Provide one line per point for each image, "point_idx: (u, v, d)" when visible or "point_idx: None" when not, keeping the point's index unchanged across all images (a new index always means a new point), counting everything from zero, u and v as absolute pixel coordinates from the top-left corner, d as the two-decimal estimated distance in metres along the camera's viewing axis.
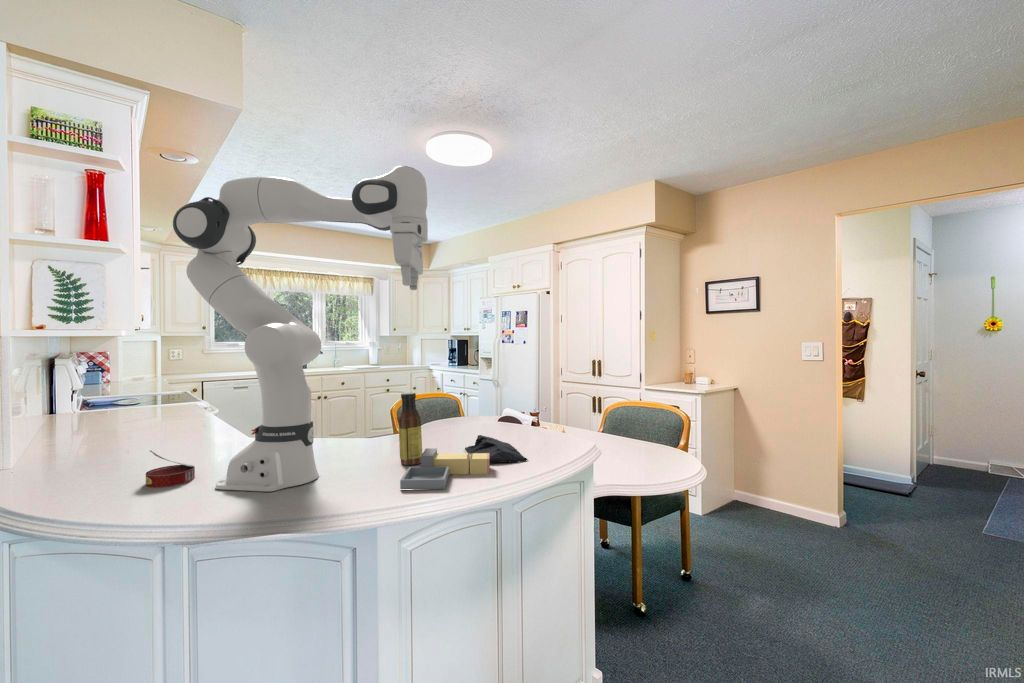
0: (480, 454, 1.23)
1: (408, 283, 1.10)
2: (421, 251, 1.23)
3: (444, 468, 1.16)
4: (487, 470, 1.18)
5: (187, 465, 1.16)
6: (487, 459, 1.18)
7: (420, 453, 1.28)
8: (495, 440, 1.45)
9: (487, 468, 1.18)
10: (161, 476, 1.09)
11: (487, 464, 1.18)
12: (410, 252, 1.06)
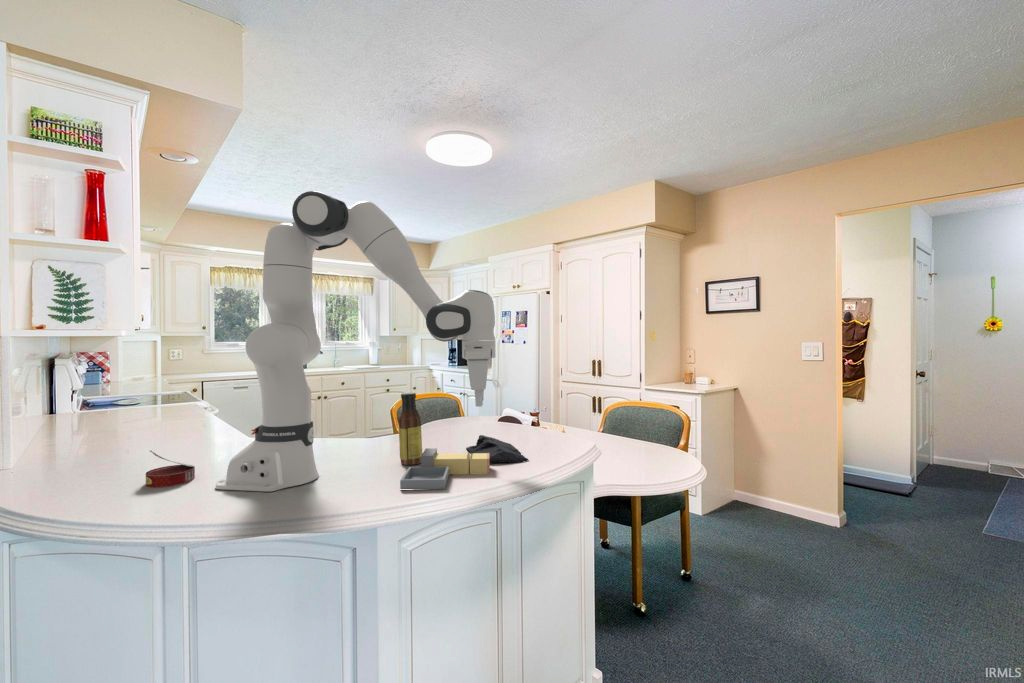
0: (480, 454, 1.23)
1: (481, 405, 1.16)
2: None
3: (444, 468, 1.16)
4: (487, 470, 1.18)
5: (187, 465, 1.16)
6: (487, 459, 1.18)
7: (420, 453, 1.28)
8: (496, 440, 1.45)
9: (487, 468, 1.18)
10: (161, 476, 1.09)
11: (487, 464, 1.18)
12: (485, 380, 1.11)
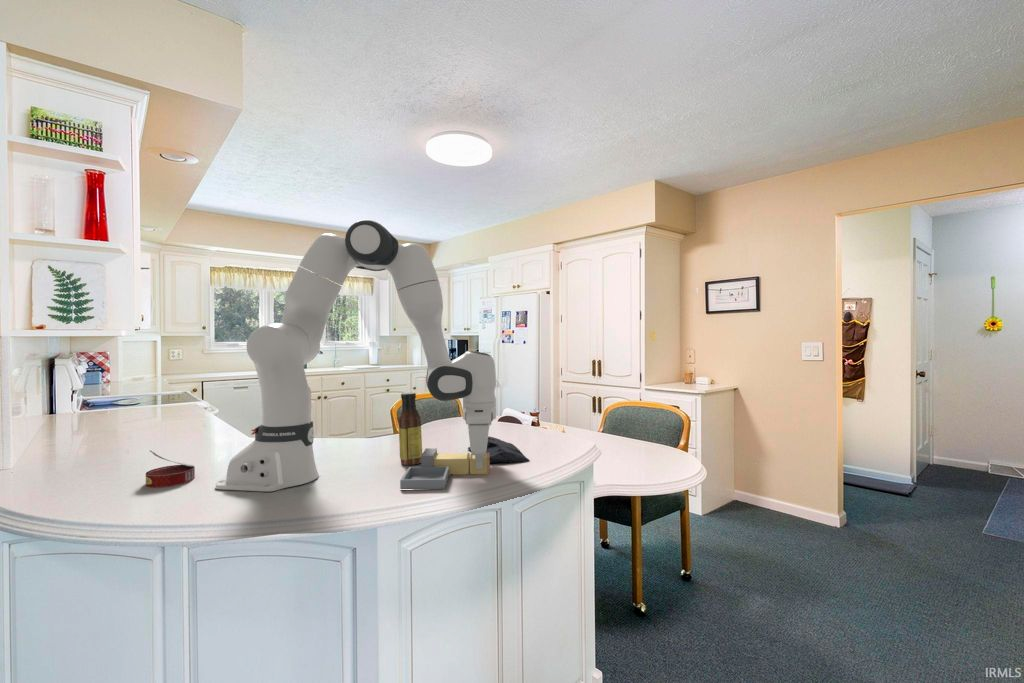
0: None
1: (481, 467, 1.17)
2: None
3: (444, 468, 1.16)
4: (487, 470, 1.18)
5: (187, 465, 1.16)
6: (487, 459, 1.18)
7: (420, 453, 1.28)
8: (498, 440, 1.45)
9: (487, 468, 1.18)
10: (161, 476, 1.09)
11: (487, 464, 1.18)
12: (486, 446, 1.11)
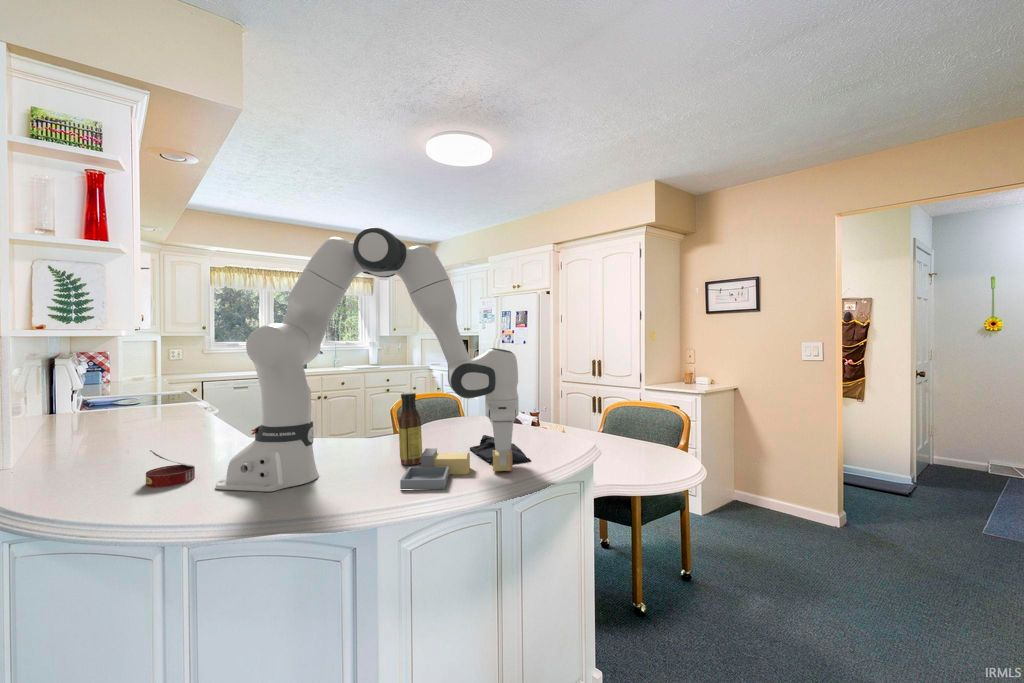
0: None
1: (505, 464, 1.17)
2: None
3: (444, 468, 1.16)
4: (510, 466, 1.19)
5: (187, 465, 1.16)
6: (510, 455, 1.19)
7: (420, 453, 1.28)
8: None
9: (510, 464, 1.19)
10: (161, 475, 1.09)
11: (510, 460, 1.19)
12: (510, 442, 1.12)
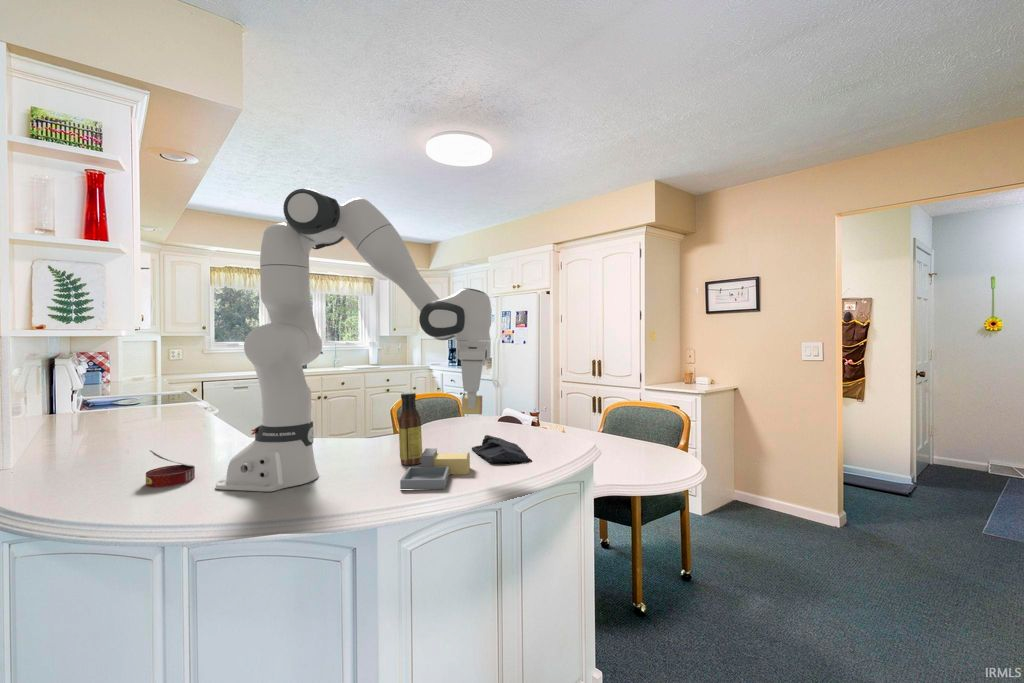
0: None
1: (473, 406, 1.13)
2: None
3: (444, 468, 1.16)
4: (479, 410, 1.15)
5: (187, 465, 1.16)
6: (480, 399, 1.15)
7: (420, 453, 1.28)
8: (502, 440, 1.45)
9: (480, 408, 1.15)
10: (162, 475, 1.09)
11: (480, 404, 1.15)
12: (479, 382, 1.08)
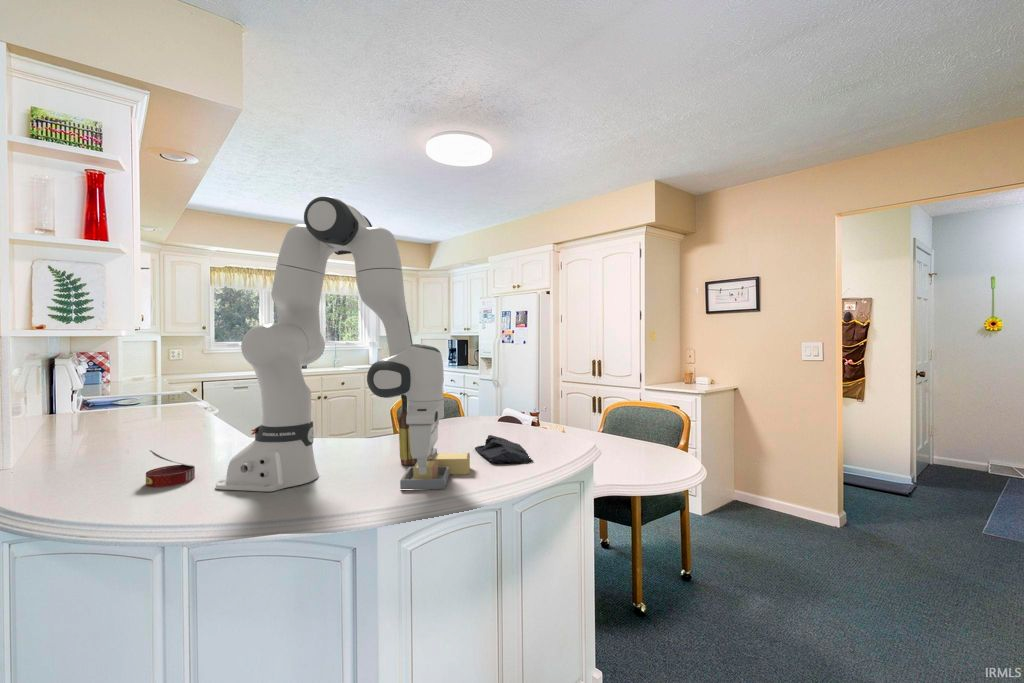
0: (427, 462, 1.13)
1: (424, 472, 1.06)
2: None
3: (444, 468, 1.16)
4: None
5: (187, 465, 1.16)
6: (432, 468, 1.08)
7: None
8: (505, 440, 1.45)
9: (432, 478, 1.08)
10: (162, 475, 1.09)
11: (432, 473, 1.08)
12: (427, 448, 1.01)
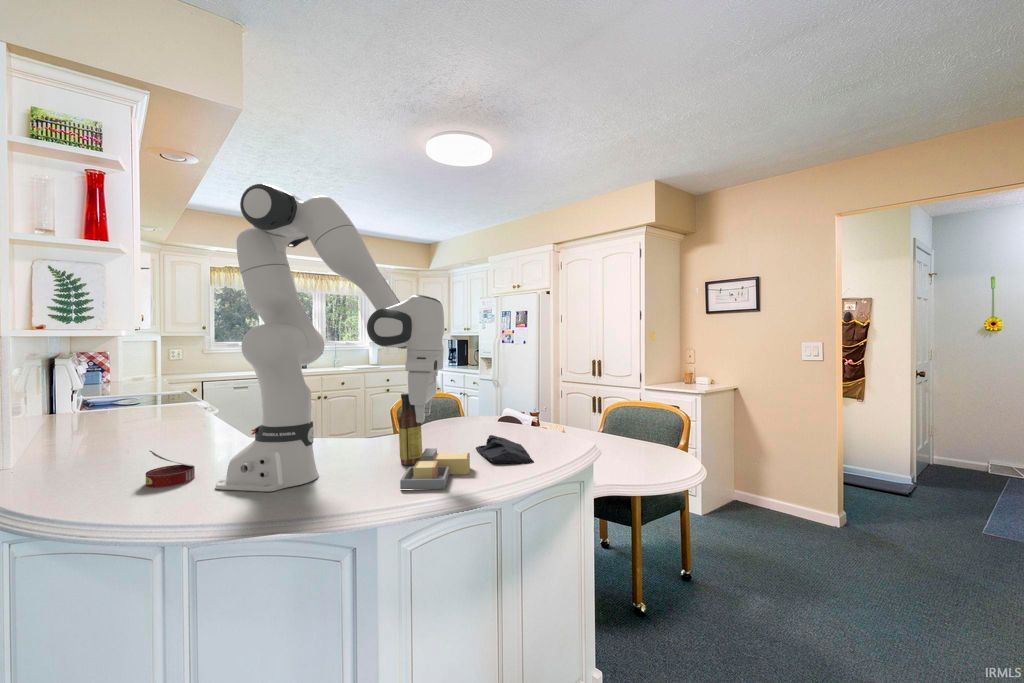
0: (427, 462, 1.13)
1: (422, 421, 1.06)
2: None
3: (444, 468, 1.16)
4: None
5: (187, 465, 1.16)
6: (432, 468, 1.08)
7: (420, 453, 1.28)
8: (506, 440, 1.45)
9: (432, 478, 1.08)
10: (162, 475, 1.09)
11: (432, 473, 1.08)
12: (425, 395, 1.02)
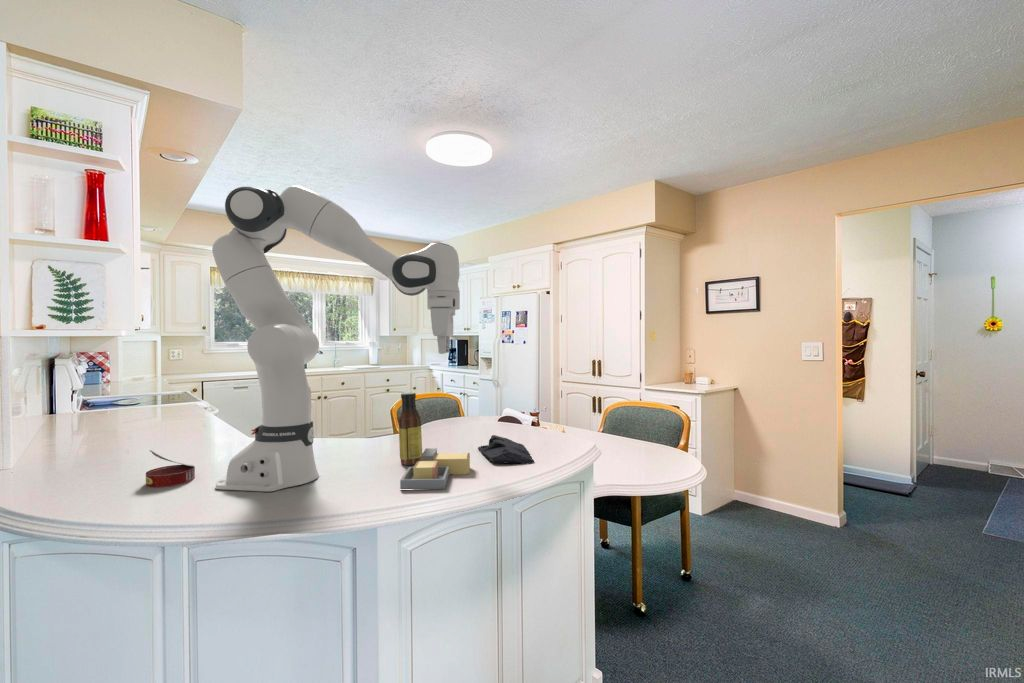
0: (427, 462, 1.13)
1: (443, 352, 1.20)
2: (452, 316, 1.33)
3: (444, 468, 1.16)
4: None
5: (187, 465, 1.16)
6: (432, 468, 1.08)
7: (420, 453, 1.28)
8: (508, 441, 1.45)
9: (432, 478, 1.08)
10: (162, 475, 1.09)
11: (432, 473, 1.08)
12: (447, 326, 1.16)
